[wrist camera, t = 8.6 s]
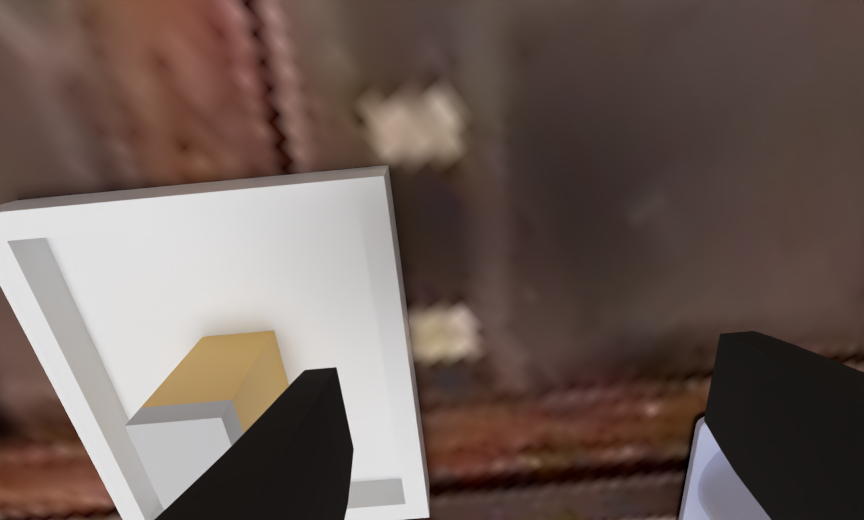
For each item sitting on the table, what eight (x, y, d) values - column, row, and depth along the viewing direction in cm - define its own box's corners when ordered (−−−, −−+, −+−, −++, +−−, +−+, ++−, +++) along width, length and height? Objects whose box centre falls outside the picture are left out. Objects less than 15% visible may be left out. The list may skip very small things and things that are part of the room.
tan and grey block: (274, 330, 18) (221, 417, 13) (297, 416, 19) (257, 519, 15) (202, 336, 18) (124, 425, 13) (231, 421, 20) (171, 526, 15)
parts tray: (388, 164, 16) (383, 175, 14) (428, 480, 22) (429, 517, 20) (16, 200, 16) (-37, 215, 14) (158, 502, 22) (134, 540, 20)
